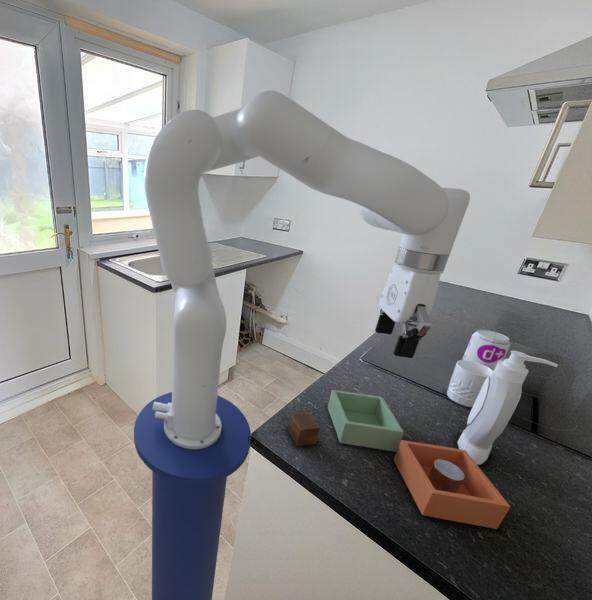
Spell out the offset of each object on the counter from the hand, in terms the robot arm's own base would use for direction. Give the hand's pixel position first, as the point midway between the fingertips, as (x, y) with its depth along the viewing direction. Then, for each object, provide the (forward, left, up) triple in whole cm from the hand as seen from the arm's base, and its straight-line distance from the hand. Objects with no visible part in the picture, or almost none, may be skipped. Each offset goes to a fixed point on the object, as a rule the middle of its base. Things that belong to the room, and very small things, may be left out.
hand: (392, 343), depth 62 cm
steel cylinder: (+10, -12, -23) cm, 28 cm away
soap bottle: (+24, 0, -24) cm, 34 cm away
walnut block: (-14, -4, -24) cm, 28 cm away
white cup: (+32, +20, -24) cm, 45 cm away
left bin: (0, +2, -24) cm, 24 cm away
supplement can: (+42, +32, -24) cm, 58 cm away
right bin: (+10, -12, -24) cm, 28 cm away
